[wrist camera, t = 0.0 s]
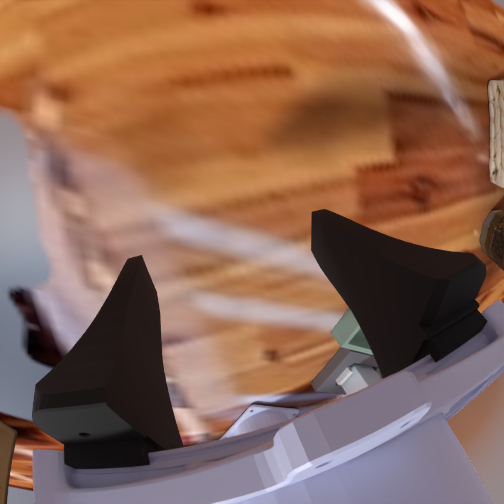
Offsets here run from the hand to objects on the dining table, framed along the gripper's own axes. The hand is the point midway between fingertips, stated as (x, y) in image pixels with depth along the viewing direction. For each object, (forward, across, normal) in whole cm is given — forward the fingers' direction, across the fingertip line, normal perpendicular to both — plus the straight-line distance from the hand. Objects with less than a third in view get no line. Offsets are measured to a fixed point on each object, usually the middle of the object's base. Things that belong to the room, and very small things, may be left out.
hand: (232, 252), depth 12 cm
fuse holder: (+5, -17, +31) cm, 36 cm away
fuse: (+6, -13, +28) cm, 32 cm away
